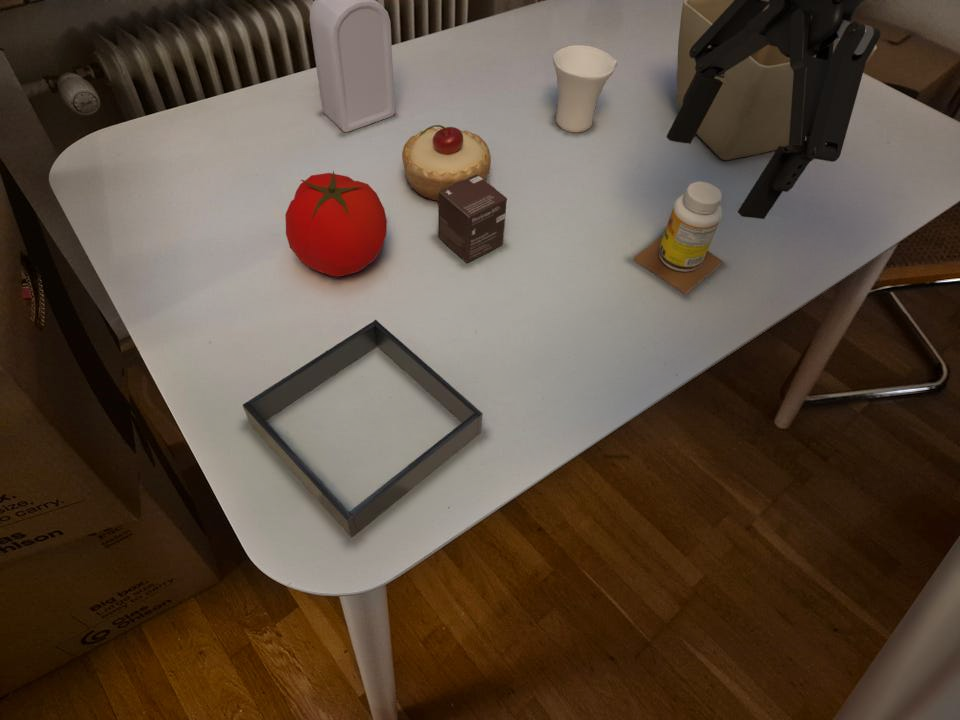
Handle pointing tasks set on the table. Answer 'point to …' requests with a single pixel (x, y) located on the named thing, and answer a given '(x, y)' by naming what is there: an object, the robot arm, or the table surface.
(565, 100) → the cup
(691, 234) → the supplement bottle
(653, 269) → the coaster
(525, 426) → the table surface
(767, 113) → the flower pot
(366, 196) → the tomato
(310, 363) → the dark grey square frame
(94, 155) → the table surface
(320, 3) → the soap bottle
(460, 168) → the pastry
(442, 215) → the box
